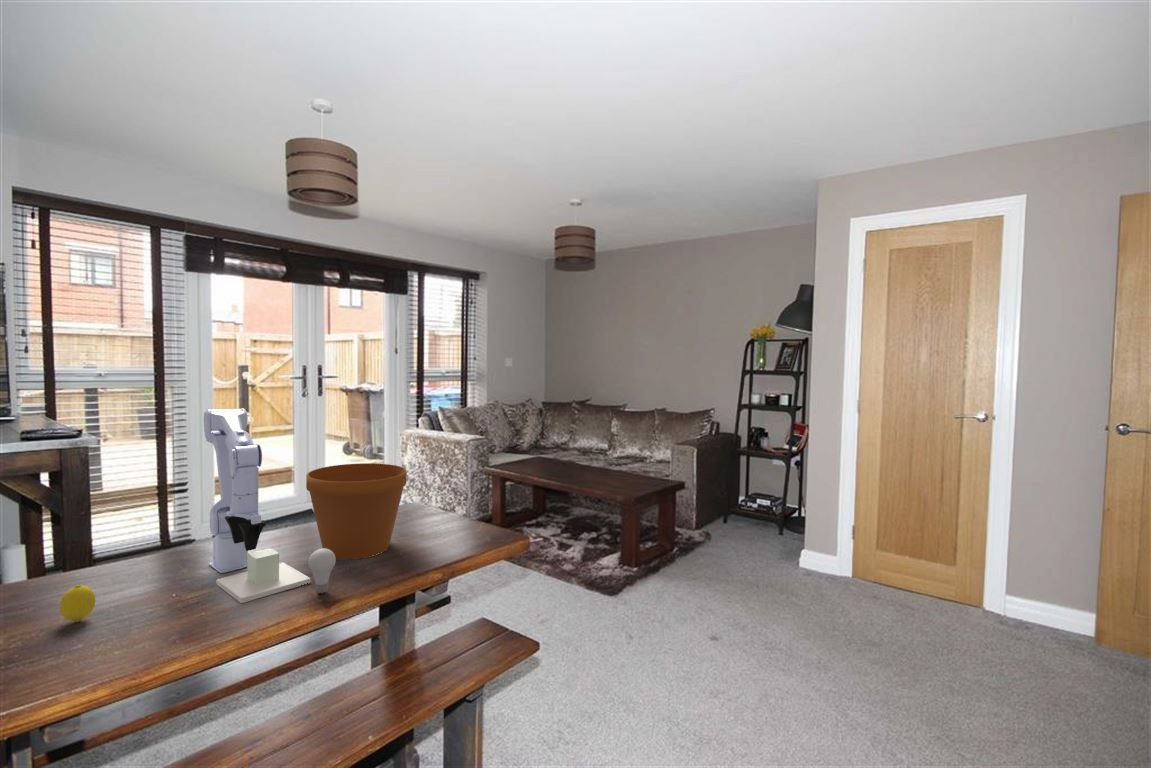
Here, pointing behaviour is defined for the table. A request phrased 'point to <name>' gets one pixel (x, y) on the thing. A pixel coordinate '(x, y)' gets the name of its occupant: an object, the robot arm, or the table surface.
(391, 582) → the table surface
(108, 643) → the table surface
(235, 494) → the robot arm
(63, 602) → the lemon
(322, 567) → the lightbulb
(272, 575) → the pale green block
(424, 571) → the table surface
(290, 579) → the post board
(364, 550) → the flowerpot
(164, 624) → the table surface
